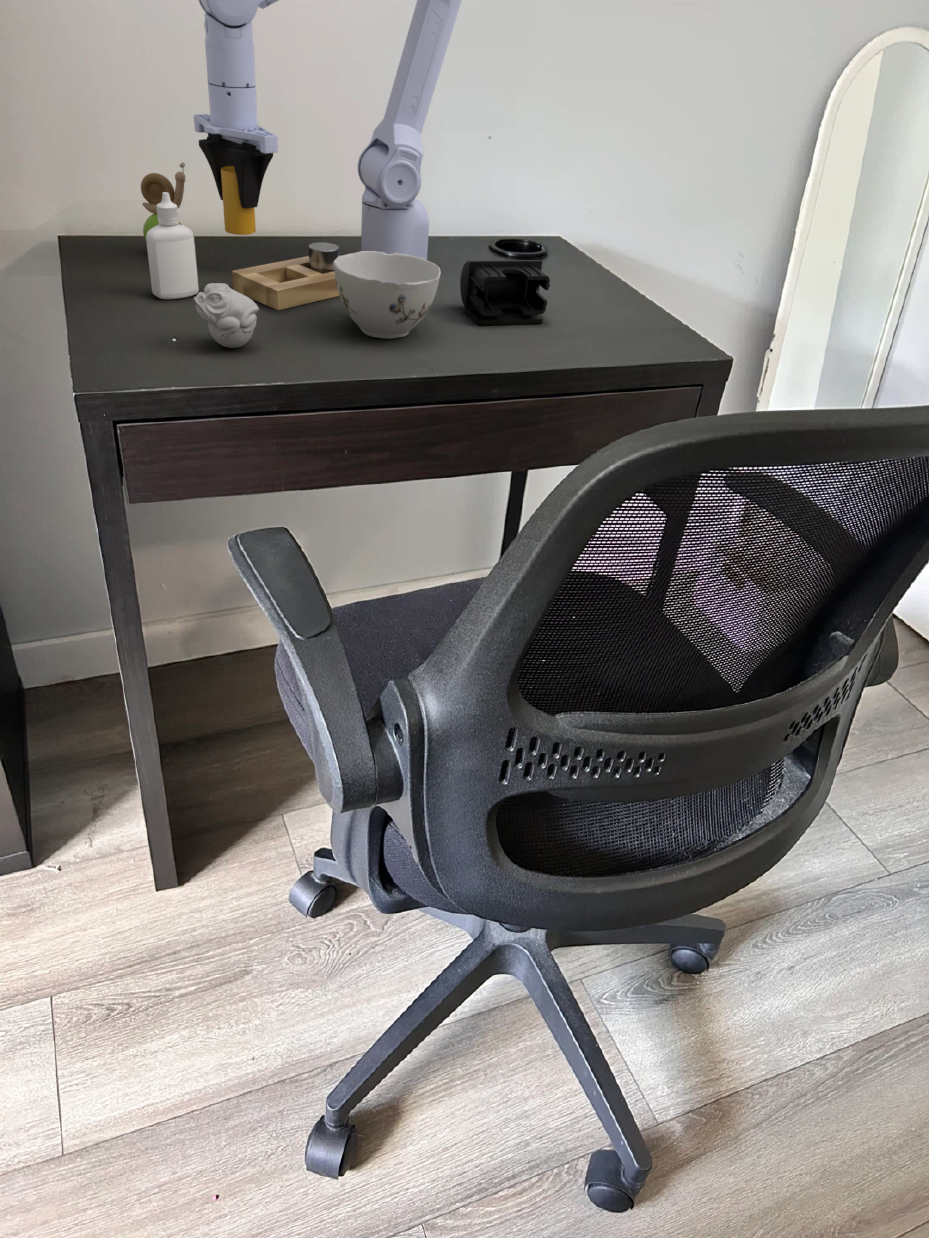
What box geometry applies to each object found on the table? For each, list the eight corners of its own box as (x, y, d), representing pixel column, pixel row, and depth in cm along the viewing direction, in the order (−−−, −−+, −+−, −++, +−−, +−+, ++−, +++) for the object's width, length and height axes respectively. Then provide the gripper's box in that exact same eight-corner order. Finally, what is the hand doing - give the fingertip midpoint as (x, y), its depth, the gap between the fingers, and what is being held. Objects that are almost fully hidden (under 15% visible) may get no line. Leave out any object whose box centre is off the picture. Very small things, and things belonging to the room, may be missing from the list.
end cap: (527, 305, 125) (533, 254, 120) (547, 324, 119) (554, 270, 115) (457, 307, 122) (461, 254, 117) (475, 326, 116) (480, 271, 112)
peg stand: (232, 290, 119) (231, 271, 118) (327, 270, 129) (327, 252, 128) (277, 310, 115) (277, 290, 113) (372, 288, 125) (372, 269, 123)
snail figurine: (187, 261, 127) (178, 167, 120) (140, 257, 127) (129, 162, 120) (197, 250, 132) (189, 159, 124) (152, 246, 131) (141, 154, 124)
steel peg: (325, 278, 126) (325, 240, 123) (345, 286, 124) (345, 248, 121) (303, 283, 124) (302, 245, 121) (322, 291, 122) (322, 252, 119)
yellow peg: (243, 225, 124) (240, 165, 120) (261, 232, 122) (259, 171, 118) (218, 229, 122) (214, 167, 117) (237, 236, 120) (233, 174, 115)
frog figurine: (194, 338, 105) (188, 276, 101) (255, 335, 107) (252, 274, 103) (202, 358, 101) (197, 294, 96) (266, 354, 103) (263, 292, 99)
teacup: (453, 345, 110) (459, 277, 106) (356, 354, 105) (357, 284, 100) (403, 304, 121) (405, 240, 116) (312, 311, 116) (311, 245, 111)
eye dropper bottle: (198, 300, 115) (189, 198, 108) (152, 300, 114) (139, 196, 107) (199, 289, 118) (190, 189, 111) (153, 288, 117) (141, 187, 110)
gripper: (169, 76, 113) (180, 194, 121) (241, 96, 106) (248, 220, 114) (217, 74, 117) (224, 188, 126) (289, 93, 110) (292, 213, 118)
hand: (238, 203), depth 120 cm, fingers closed on yellow peg, 4 cm apart
